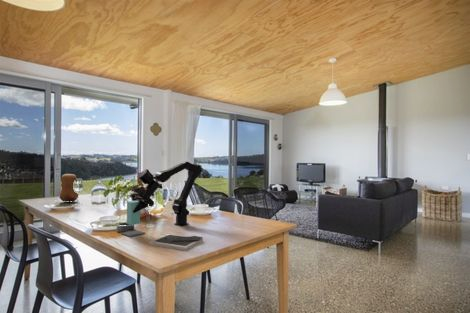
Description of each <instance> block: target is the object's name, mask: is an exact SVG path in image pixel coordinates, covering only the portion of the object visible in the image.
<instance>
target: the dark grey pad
mask: <svg viewBox="0 0 470 313" xmlns="http://www.w3.org/2000/svg"><path fill="white" fill-rule="evenodd" d="M120 235H122V236H125V237H127V238H133V237H137V236H142V235H146V232H145V231H141V230H138V229H134V230H132V231H124V232H120Z"/></svg>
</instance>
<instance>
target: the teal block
mask: <svg viewBox="0 0 470 313" xmlns="http://www.w3.org/2000/svg"><path fill="white" fill-rule="evenodd" d="M138 203H139V201H136V200H135V201H132V200H128V201H126V222H127V224H129V225H134V226H135V225H139V224H141V218H140V210H139V211H137V212H135V213H133V210H134V209H135V207H136V206H137V205H138Z"/></svg>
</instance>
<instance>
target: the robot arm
mask: <svg viewBox="0 0 470 313" xmlns="http://www.w3.org/2000/svg"><path fill="white" fill-rule="evenodd" d="M184 170H186V171H187V178H186V181H185V183H184V186H183V188H182V190H181V193H180V195H179V197H178V198H177V199H176V198H175V199H174V200H173V202H172V204H171V205H172V206H171V209H172V211H173V212H174V214H175V222H174V225H175V226H178V227H179V226H180V227H183V226H186V225H189V222H188V216H189V215H190V210H188V209H187V207H188V198H189V195H190V193H191V191H192V188H193V186H194V185H195V181H196V179H198V178H199V177H200V176H201V173H202V172H203V169H202V166H201V165H198V164H194V163H191V162H189V161H181V163H179V164H175V165H174V166H173V167H169V168H168V169H165V170H160V171H157V172H155V174H152V173H151V171H150V170H149V169H147V168H145V169H144V170H142V171H141V172H139V173H138V175H137V178H138V180H140V181H141V182H142V184H144V185H145V186H146V187H145V188H144V187H143V186H144V185H139V186H137V185H132V188H131V190H130V192H132V193H131V194H130V195H129V197H130V198H131V201H135V200H136V201H139V203H138V205H137V206H136V207H135V209H134V210H133V213H135V212H137V211H139V210H141V209H144V208H146V207H148V204H149V206H150V208H152V207H153V206H154V205H155V201H154V200H153V199H152V198H151V197H154V195H155V192H156V191H157V190H158V189H161V190H163V184H162V183H166V182H167V181H168V180H169V179H170V178H172V177H173V176H174V175H176V174H178V173H179V172H183V171H184ZM133 191H134V192H136V193H137V194H136V193H133ZM138 195H139V196H138Z"/></svg>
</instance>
